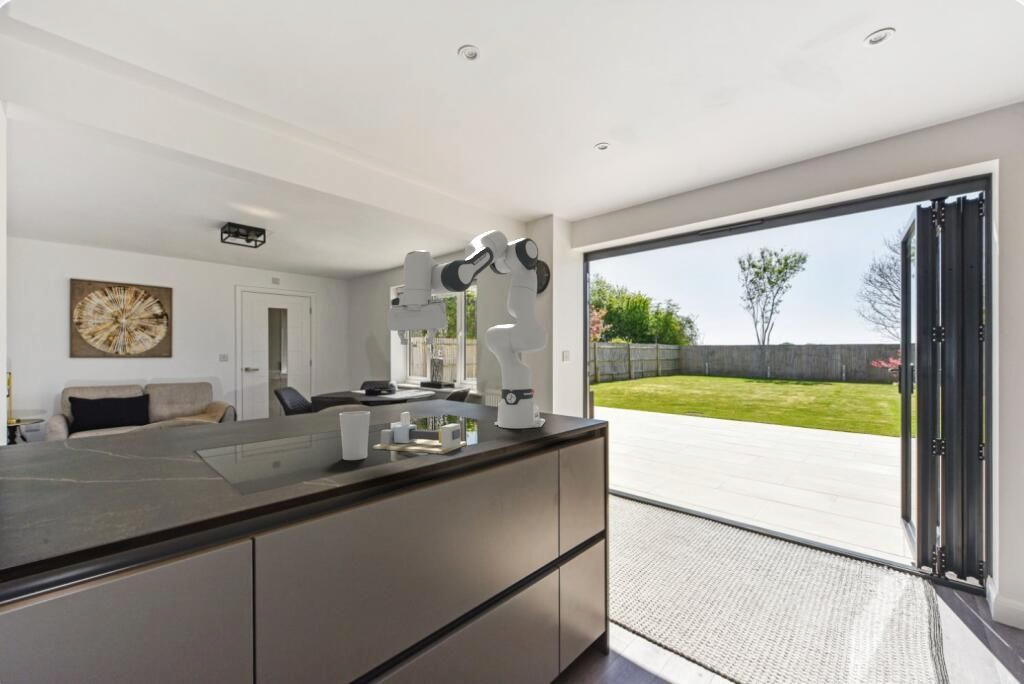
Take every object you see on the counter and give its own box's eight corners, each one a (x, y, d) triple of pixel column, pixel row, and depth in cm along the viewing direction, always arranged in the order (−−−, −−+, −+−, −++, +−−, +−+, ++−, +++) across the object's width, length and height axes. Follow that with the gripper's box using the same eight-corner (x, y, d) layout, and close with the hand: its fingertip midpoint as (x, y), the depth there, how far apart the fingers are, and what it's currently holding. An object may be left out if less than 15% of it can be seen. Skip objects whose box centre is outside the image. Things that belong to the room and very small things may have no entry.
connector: (441, 447, 128) (441, 426, 128) (451, 443, 134) (451, 423, 134) (451, 448, 127) (451, 427, 127) (462, 444, 132) (461, 424, 133)
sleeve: (393, 442, 135) (393, 413, 135) (403, 439, 140) (403, 411, 140) (407, 443, 133) (407, 413, 134) (416, 440, 138) (416, 411, 138)
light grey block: (380, 444, 135) (380, 430, 135) (397, 439, 143) (397, 426, 143) (388, 444, 134) (388, 431, 134) (405, 439, 141) (405, 427, 142)
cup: (375, 454, 125) (374, 411, 125) (362, 460, 117) (362, 415, 117) (347, 454, 125) (347, 411, 126) (333, 460, 117) (333, 415, 118)
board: (373, 448, 132) (373, 445, 132) (401, 439, 145) (401, 437, 145) (443, 454, 123) (443, 451, 123) (467, 444, 136) (466, 441, 136)
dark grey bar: (388, 439, 137) (388, 427, 137) (395, 437, 140) (395, 425, 140) (444, 443, 129) (444, 430, 129) (451, 441, 133) (451, 428, 133)
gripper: (451, 300, 140) (450, 344, 139) (396, 303, 148) (396, 345, 147) (440, 297, 134) (440, 343, 133) (384, 301, 142) (384, 344, 141)
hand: (416, 344), depth 140 cm, fingers open, 8 cm apart
